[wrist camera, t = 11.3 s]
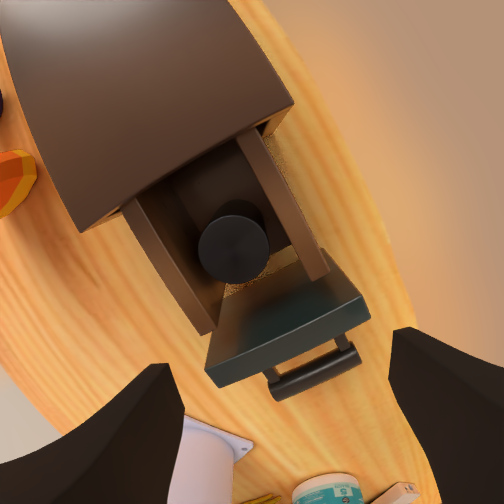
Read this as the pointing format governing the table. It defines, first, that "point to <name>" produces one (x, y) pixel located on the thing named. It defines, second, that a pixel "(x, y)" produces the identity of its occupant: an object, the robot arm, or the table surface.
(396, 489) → the multiport hub
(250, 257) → the peg
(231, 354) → the drawer
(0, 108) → the purple dumbbell
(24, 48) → the cabinet
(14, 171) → the candy corn
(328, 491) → the pill bottle
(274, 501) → the decorative symbol
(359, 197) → the table surface
